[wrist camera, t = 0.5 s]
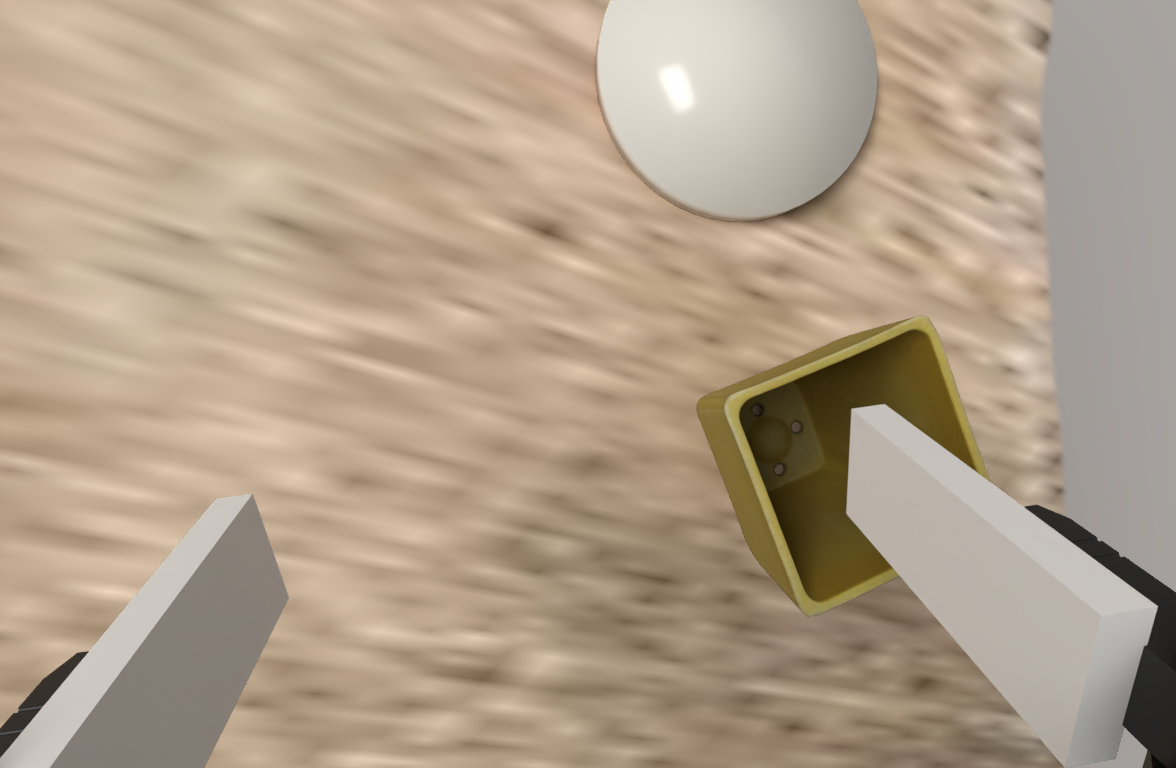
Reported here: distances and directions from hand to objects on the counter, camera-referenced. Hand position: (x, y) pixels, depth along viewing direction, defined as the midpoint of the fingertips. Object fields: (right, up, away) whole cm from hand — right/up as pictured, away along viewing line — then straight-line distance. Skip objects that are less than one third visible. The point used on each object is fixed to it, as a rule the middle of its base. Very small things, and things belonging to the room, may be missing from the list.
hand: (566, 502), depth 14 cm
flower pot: (+9, 0, +18) cm, 21 cm away
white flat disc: (+8, +18, +18) cm, 26 cm away
